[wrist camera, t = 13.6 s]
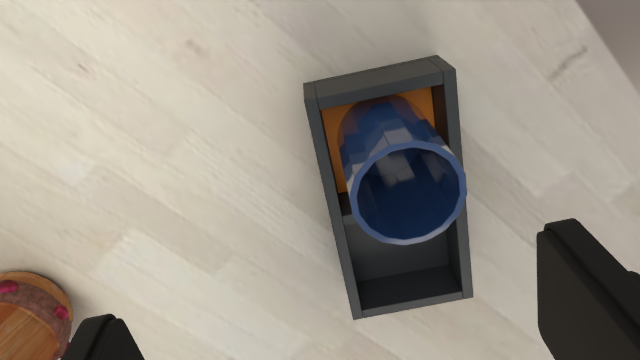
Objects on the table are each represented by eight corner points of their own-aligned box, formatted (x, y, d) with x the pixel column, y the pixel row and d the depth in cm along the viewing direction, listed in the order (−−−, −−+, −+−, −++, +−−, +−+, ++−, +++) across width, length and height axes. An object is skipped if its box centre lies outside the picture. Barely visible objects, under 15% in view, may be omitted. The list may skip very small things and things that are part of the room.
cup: (421, 84, 33) (462, 129, 25) (430, 167, 36) (470, 232, 28) (329, 103, 33) (340, 155, 25) (345, 184, 36) (360, 254, 28)
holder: (437, 54, 33) (455, 68, 29) (457, 265, 41) (473, 297, 37) (303, 83, 34) (304, 100, 30) (348, 286, 41) (353, 320, 38)
